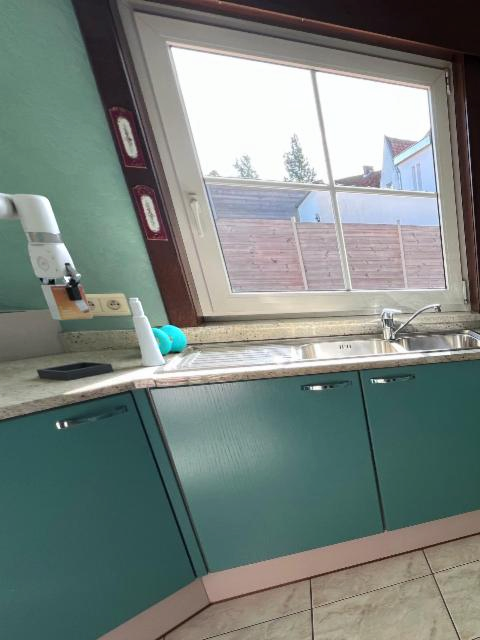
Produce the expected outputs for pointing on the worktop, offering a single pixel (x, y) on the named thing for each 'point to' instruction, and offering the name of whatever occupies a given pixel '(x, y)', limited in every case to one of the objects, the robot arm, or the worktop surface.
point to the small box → (66, 303)
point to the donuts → (165, 341)
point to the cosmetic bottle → (145, 336)
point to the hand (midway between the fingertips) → (66, 299)
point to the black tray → (75, 371)
